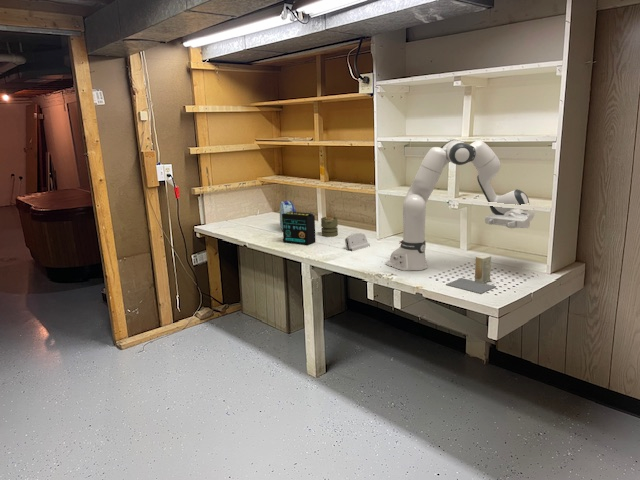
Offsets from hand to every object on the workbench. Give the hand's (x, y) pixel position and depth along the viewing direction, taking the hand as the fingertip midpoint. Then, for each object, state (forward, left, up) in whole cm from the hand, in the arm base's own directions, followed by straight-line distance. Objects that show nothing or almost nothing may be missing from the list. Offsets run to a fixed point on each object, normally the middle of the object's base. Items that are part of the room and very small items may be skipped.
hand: (498, 223), depth 227 cm
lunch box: (-166, +1, -26) cm, 168 cm away
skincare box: (0, -12, -26) cm, 29 cm away
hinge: (-89, -5, -26) cm, 93 cm away
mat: (0, -22, -26) cm, 34 cm away
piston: (-128, +8, -26) cm, 131 cm away
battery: (-127, -20, -26) cm, 131 cm away
